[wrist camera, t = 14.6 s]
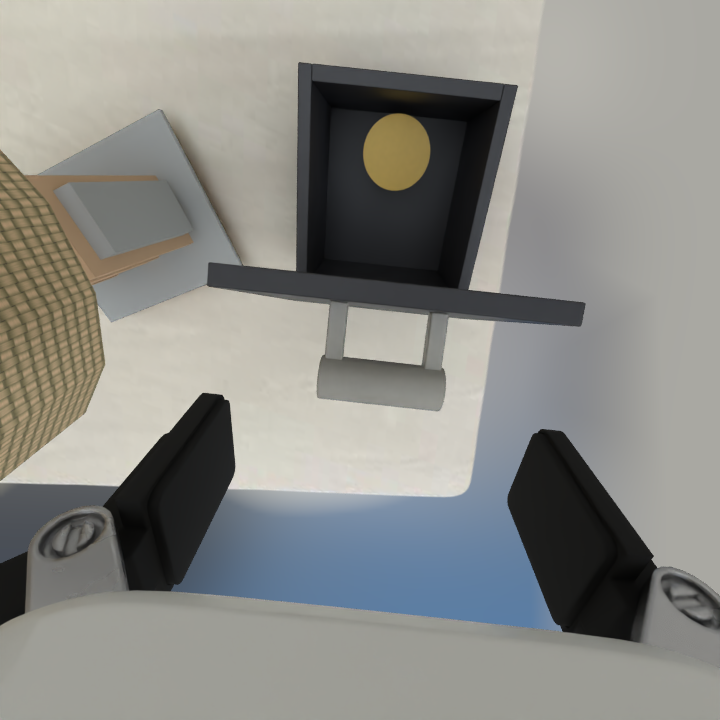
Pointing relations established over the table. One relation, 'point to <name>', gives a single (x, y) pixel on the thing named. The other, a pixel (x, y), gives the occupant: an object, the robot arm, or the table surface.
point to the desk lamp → (91, 268)
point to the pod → (396, 152)
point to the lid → (380, 377)
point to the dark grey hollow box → (403, 207)
